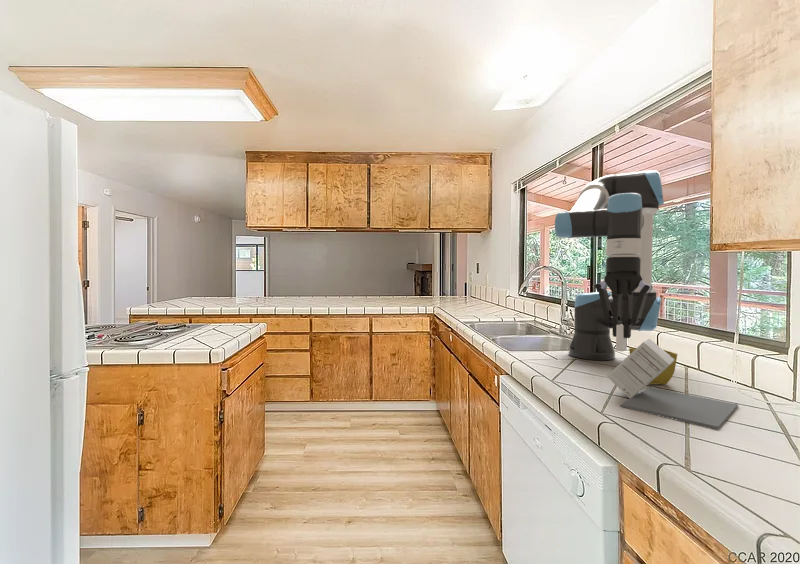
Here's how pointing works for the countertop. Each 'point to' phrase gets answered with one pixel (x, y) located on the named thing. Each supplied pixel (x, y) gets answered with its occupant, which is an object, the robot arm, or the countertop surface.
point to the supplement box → (640, 368)
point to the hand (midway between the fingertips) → (621, 350)
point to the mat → (682, 407)
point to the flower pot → (667, 373)
